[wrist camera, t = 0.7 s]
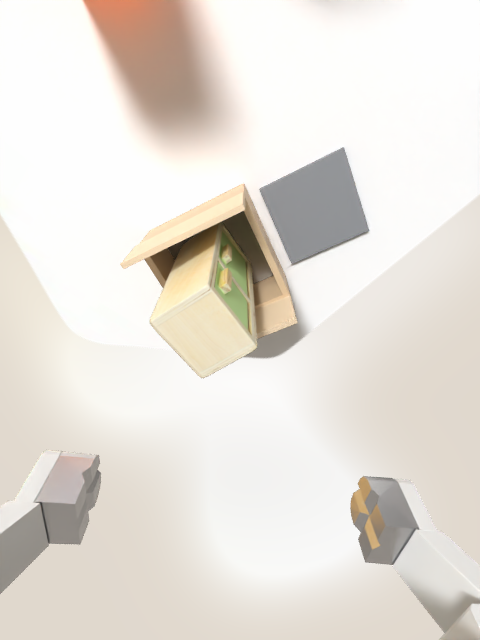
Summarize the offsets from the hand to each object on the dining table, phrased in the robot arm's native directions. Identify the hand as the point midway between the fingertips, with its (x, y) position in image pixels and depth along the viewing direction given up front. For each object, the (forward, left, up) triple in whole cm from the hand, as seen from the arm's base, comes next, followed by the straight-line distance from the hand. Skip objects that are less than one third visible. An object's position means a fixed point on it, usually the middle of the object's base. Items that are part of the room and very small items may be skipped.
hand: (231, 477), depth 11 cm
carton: (+6, +5, -40) cm, 41 cm away
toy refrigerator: (+6, +5, -41) cm, 41 cm away
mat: (-8, +5, -40) cm, 42 cm away
